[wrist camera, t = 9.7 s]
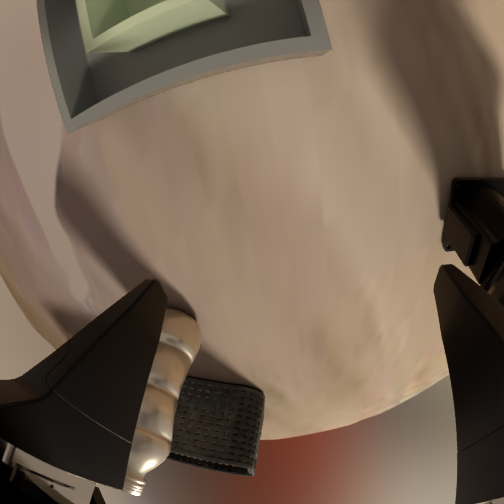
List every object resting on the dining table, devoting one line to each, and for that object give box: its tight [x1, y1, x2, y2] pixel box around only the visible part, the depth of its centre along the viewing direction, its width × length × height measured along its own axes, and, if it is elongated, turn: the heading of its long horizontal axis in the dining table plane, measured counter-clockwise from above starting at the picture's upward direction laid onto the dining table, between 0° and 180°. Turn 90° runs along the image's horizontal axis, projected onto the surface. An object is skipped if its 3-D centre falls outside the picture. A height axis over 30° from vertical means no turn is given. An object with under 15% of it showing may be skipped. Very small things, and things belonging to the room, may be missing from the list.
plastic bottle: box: [121, 308, 201, 496], centre depth 21 cm, size 6×7×20 cm
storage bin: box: [166, 376, 265, 476], centre depth 39 cm, size 29×19×13 cm
